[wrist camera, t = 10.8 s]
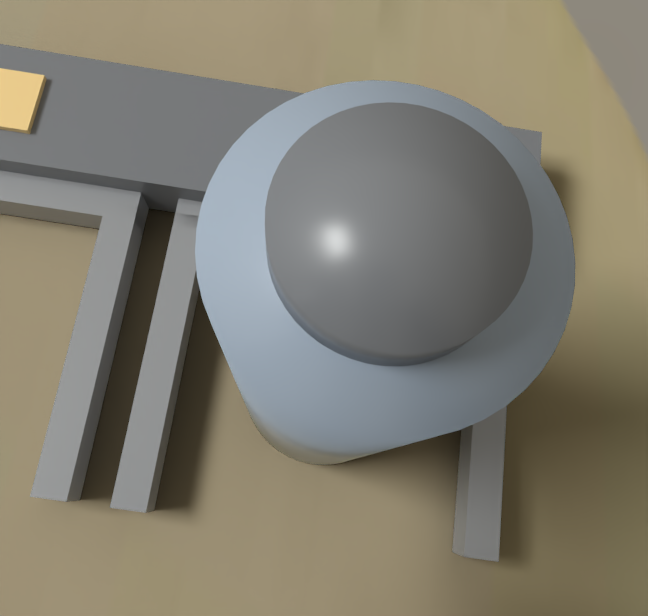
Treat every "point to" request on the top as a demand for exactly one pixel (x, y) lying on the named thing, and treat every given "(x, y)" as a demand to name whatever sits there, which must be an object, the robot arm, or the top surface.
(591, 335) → the top surface
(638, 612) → the top surface
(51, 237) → the top surface
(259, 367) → the pale blue cylinder
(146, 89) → the parallel gray bars
